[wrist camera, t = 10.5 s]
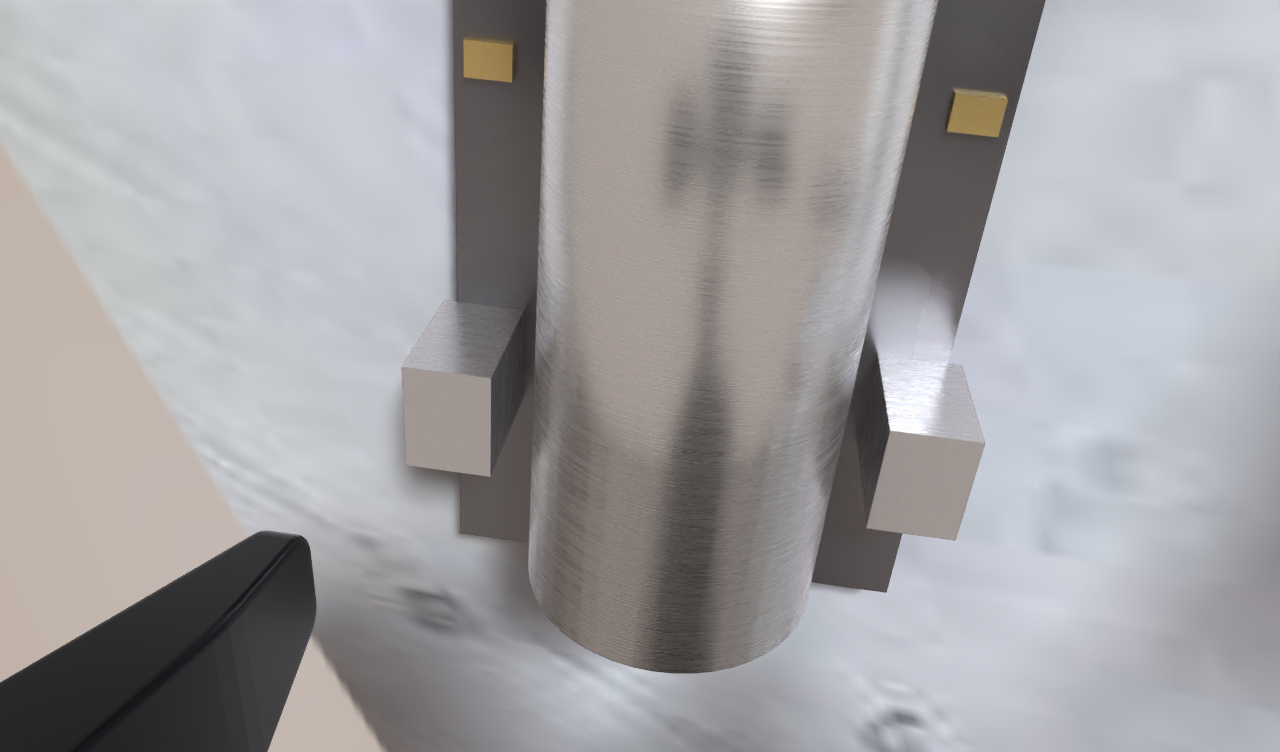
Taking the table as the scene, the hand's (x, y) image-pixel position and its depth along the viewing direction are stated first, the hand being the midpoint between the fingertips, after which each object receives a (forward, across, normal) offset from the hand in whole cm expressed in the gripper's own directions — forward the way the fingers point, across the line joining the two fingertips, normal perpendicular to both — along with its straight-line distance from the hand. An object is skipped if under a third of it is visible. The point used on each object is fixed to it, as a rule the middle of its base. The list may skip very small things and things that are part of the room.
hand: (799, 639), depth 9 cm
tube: (+10, +1, -2) cm, 10 cm away
